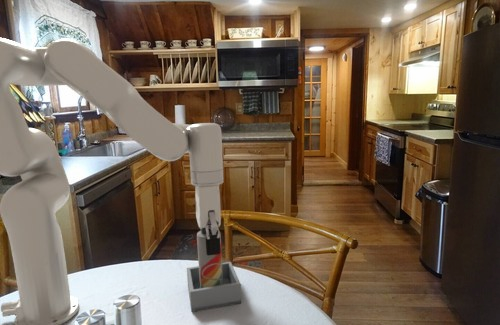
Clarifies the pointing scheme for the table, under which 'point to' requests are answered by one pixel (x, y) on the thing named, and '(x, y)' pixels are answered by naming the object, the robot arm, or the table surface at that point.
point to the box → (214, 289)
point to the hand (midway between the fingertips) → (210, 245)
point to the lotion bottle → (208, 263)
